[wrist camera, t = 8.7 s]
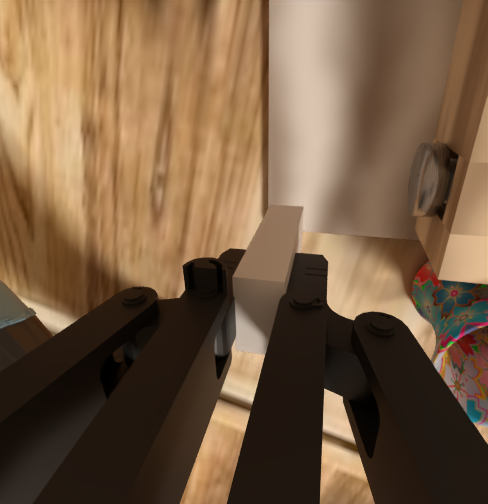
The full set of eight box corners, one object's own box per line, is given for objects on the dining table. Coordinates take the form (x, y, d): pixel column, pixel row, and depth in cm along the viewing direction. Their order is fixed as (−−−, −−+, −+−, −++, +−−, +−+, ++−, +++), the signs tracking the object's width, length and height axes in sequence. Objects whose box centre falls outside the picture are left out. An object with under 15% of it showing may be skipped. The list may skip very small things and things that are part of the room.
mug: (450, 217, 27) (502, 288, 18) (557, 268, 27) (666, 366, 18) (368, 318, 33) (377, 409, 24) (454, 361, 33) (496, 470, 24)
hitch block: (270, 224, 32) (246, 272, 24) (271, -18, 23) (235, -64, 16) (613, 249, 25) (731, 325, 18) (778, -69, 17) (1132, -187, 9)
